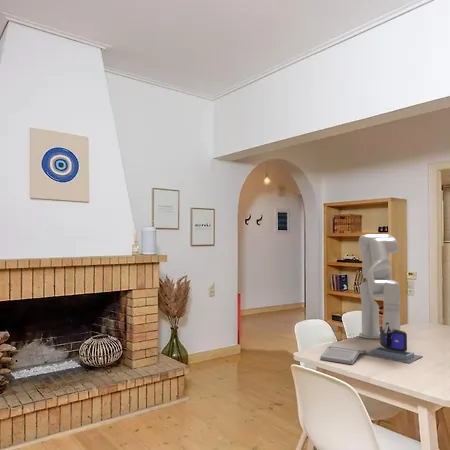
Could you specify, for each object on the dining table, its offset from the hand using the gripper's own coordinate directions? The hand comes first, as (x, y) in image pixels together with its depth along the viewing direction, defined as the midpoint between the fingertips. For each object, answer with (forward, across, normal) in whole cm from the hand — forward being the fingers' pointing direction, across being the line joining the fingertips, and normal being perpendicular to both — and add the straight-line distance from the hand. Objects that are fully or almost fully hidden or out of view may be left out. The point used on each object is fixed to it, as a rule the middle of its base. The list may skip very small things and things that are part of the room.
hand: (392, 345), depth 198 cm
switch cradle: (+5, 0, 0) cm, 5 cm away
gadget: (+5, +19, -15) cm, 25 cm away
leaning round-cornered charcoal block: (+2, -1, 0) cm, 2 cm away
